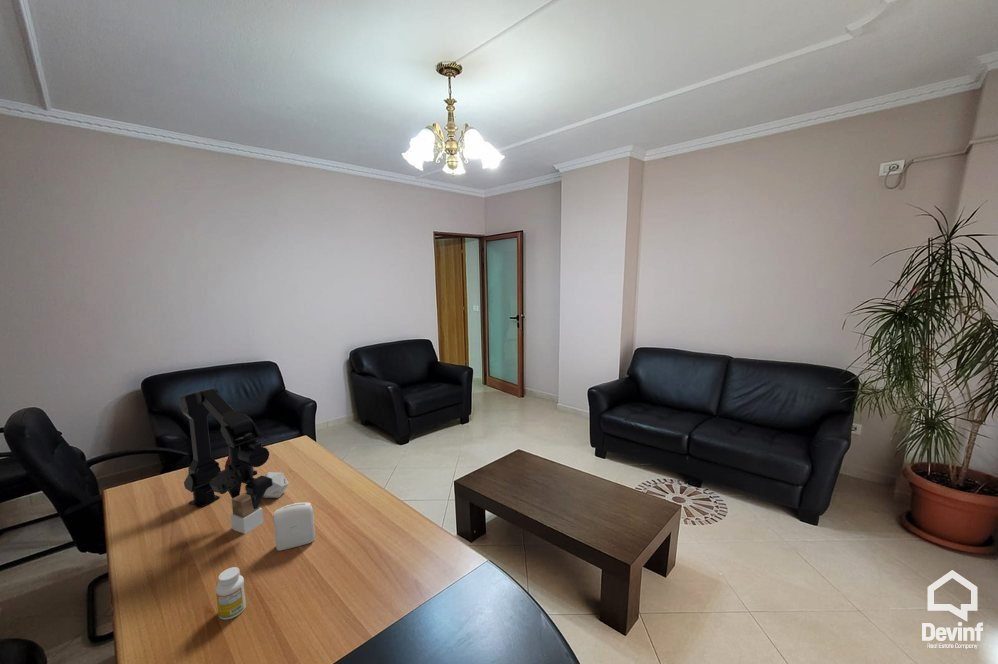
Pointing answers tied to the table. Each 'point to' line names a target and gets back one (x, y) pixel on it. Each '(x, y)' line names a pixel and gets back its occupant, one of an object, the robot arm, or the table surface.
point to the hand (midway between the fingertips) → (245, 505)
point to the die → (276, 485)
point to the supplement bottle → (230, 593)
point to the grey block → (247, 521)
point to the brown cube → (243, 505)
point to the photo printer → (294, 526)
